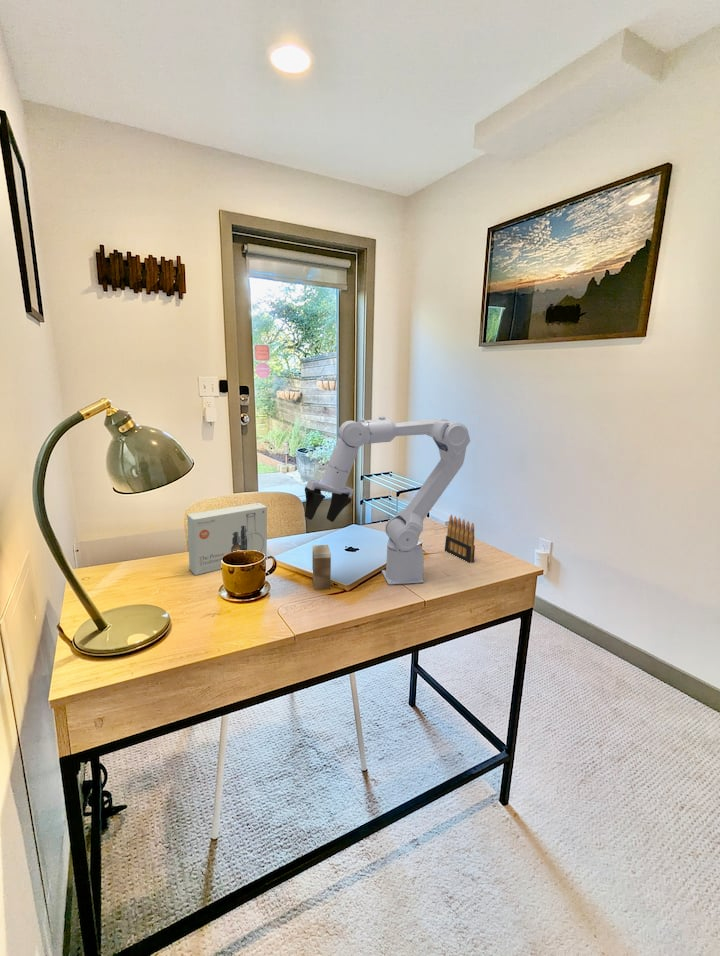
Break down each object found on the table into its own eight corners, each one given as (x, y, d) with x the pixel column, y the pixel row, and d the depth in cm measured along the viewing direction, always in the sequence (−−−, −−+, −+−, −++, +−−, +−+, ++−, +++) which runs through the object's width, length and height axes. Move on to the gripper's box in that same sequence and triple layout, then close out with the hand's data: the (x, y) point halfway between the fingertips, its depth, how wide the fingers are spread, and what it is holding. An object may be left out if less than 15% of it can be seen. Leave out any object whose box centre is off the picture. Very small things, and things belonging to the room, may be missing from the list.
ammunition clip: (444, 550, 138) (447, 514, 135) (448, 549, 139) (451, 513, 136) (469, 563, 129) (473, 524, 126) (474, 562, 130) (477, 523, 127)
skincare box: (195, 577, 116) (192, 519, 112) (188, 569, 120) (185, 513, 116) (268, 558, 129) (267, 505, 125) (259, 552, 133) (258, 501, 129)
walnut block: (327, 578, 117) (328, 544, 114) (330, 589, 111) (330, 553, 109) (312, 579, 116) (312, 545, 114) (314, 590, 110) (314, 554, 108)
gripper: (347, 467, 116) (329, 514, 117) (307, 457, 105) (287, 509, 106) (366, 477, 111) (346, 526, 113) (326, 467, 100) (305, 522, 102)
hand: (319, 519), depth 109 cm, fingers open, 7 cm apart
